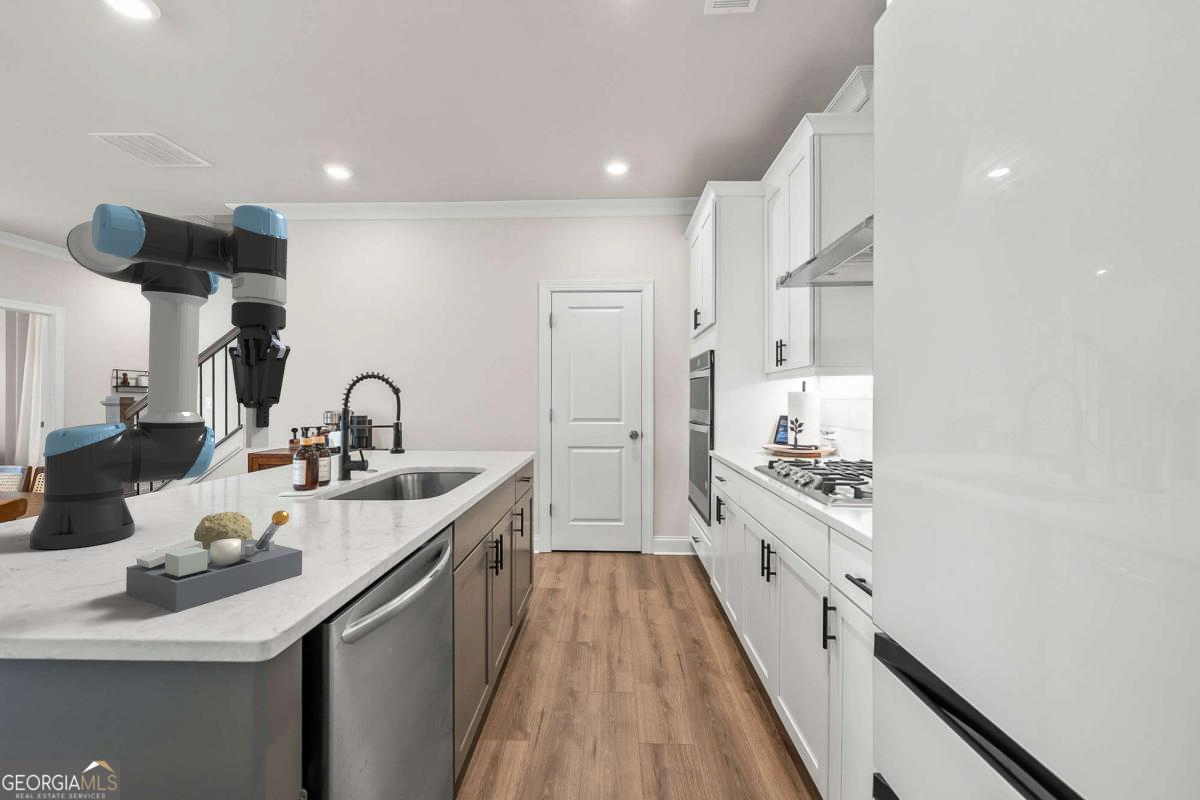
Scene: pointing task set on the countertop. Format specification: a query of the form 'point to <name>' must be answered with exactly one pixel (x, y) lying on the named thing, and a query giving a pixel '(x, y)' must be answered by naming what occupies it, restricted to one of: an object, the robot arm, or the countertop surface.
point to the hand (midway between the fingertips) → (257, 447)
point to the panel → (214, 577)
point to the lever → (272, 528)
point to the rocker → (159, 555)
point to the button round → (225, 551)
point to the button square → (186, 561)
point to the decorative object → (223, 528)
